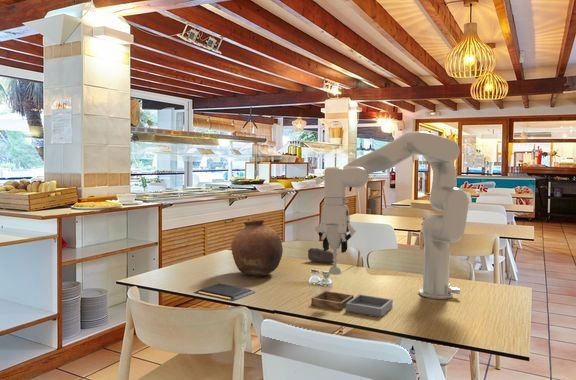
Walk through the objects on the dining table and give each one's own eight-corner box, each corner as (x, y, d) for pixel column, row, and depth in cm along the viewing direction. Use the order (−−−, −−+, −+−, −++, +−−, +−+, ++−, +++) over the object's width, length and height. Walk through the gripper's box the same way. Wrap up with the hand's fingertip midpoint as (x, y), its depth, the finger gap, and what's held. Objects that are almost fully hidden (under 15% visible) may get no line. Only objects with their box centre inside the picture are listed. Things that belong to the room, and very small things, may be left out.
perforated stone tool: (338, 263, 241) (338, 249, 241) (334, 265, 237) (334, 251, 236) (311, 260, 249) (311, 246, 248) (307, 262, 244) (307, 248, 244)
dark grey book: (256, 289, 188) (231, 298, 176) (256, 293, 188) (231, 303, 176) (218, 281, 199) (192, 289, 187) (218, 285, 199) (192, 294, 187)
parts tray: (392, 307, 171) (392, 299, 170) (381, 318, 160) (381, 309, 159) (358, 302, 177) (359, 294, 177) (345, 311, 166) (346, 303, 166)
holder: (353, 301, 177) (353, 295, 177) (341, 310, 167) (341, 303, 167) (324, 297, 183) (325, 290, 183) (311, 305, 173) (311, 298, 173)
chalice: (322, 273, 173) (321, 224, 172) (329, 269, 179) (329, 221, 178) (341, 276, 170) (340, 225, 168) (347, 271, 176) (347, 223, 174)
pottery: (281, 281, 205) (282, 223, 204) (227, 280, 206) (227, 222, 204) (283, 268, 228) (283, 216, 226) (234, 268, 229) (234, 215, 227)
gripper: (361, 201, 171) (361, 251, 173) (317, 199, 180) (317, 247, 181) (353, 203, 165) (353, 255, 166) (308, 201, 173) (308, 250, 175)
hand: (335, 250), depth 174 cm, fingers closed on chalice, 6 cm apart
